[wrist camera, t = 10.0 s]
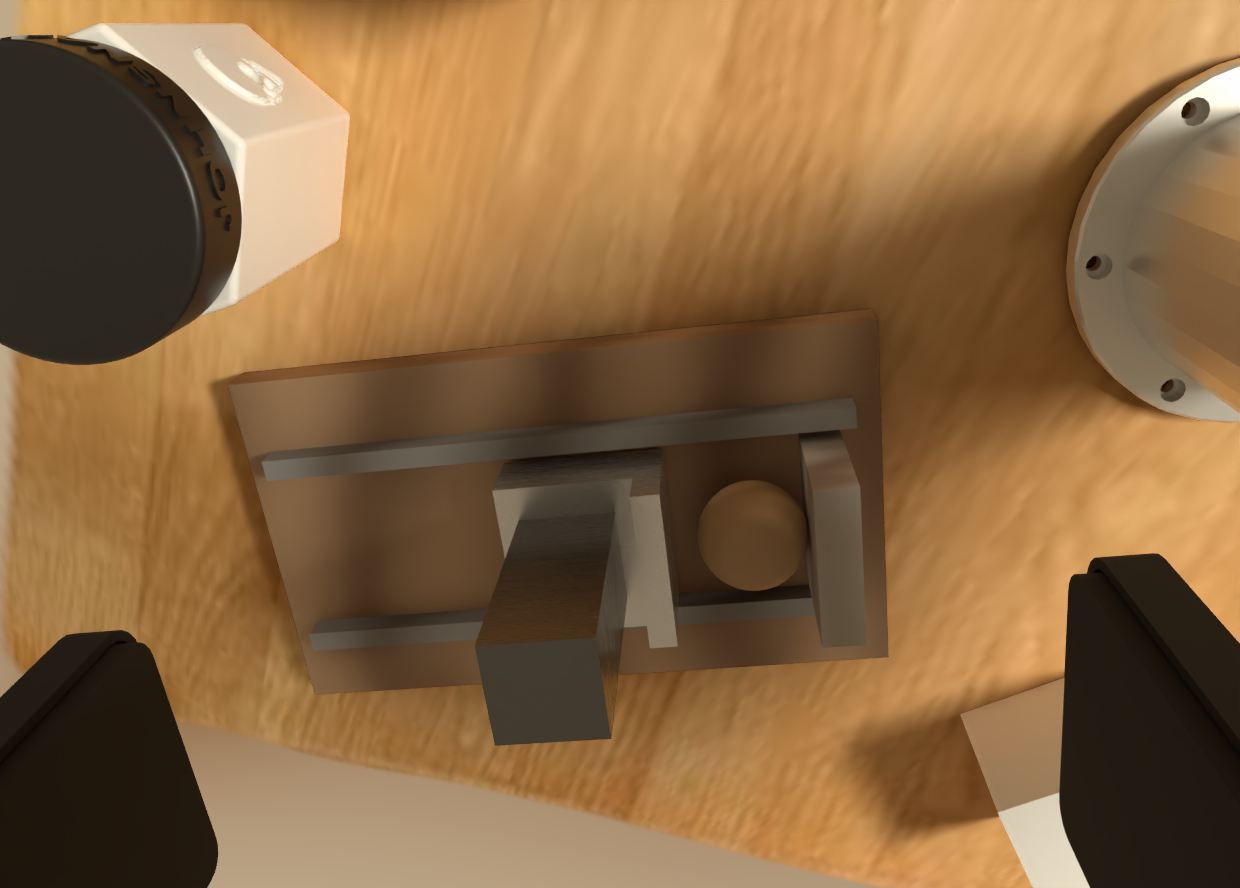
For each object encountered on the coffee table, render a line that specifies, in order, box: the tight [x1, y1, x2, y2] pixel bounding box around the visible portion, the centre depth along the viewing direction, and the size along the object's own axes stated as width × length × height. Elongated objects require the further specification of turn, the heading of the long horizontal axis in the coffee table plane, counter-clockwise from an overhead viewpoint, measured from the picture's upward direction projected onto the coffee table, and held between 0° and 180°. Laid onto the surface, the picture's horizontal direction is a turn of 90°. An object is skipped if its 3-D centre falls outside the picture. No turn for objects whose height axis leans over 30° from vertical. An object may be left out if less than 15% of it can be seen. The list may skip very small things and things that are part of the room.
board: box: [228, 309, 888, 695], centre depth 38 cm, size 24×14×6 cm, turn 97°
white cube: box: [960, 678, 1090, 888], centre depth 41 cm, size 6×6×6 cm
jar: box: [0, 23, 350, 365], centre depth 31 cm, size 9×8×12 cm
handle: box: [475, 449, 679, 746], centre depth 34 cm, size 6×6×10 cm
